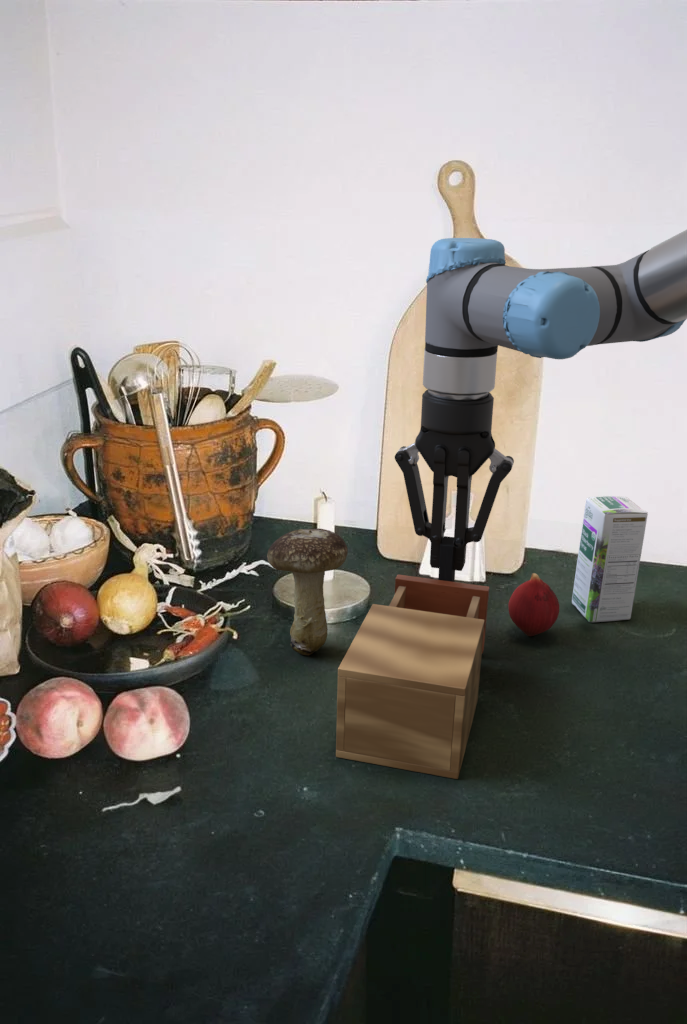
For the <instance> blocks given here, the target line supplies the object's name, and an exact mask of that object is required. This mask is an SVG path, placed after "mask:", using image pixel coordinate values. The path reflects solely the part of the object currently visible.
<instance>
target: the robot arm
mask: <svg viewBox="0 0 687 1024" xmlns="http://www.w3.org/2000/svg"><path fill="white" fill-rule="evenodd" d="M505 250H506V249H505V246H504V244H503V243H502V242H501V241H500V240H496V239H492V238H491V239H490V238H479V237H478V238H477V237H448V238H447V237H446V238H440V239H438V240H436V241H435V242H434V243H433V244H432V245H431V248H430V252H429V255H430V256H429V264H428V273H427V276H426V279H425V282H426V301H425V303H426V304H425V333H424V334H425V335H424V351H423V370H422V371H423V372H422V374H423V375H422V386H423V387H424V388H425V391H424V392H423V393H422V395H421V411H420V413H421V415H420V430H419V432H418V434H417V436H416V437H415V439H414V440H415V441H414V442H413V443H411V444H409V445H408V446H406V445H405V446H401V447H400V448H399V449H398V450H397V452H396V453H395V455H394V460H395V462H396V464H397V466H398V467H399V468H400V469H399V470H401V472H402V474H403V479H404V485H405V489H406V495H407V499H408V504H409V509H410V514H411V519H412V525H413V528H414V533H415V534H416V536H419V537H425V538H427V539H428V540H429V541H430V555H429V565H430V568H433V569H438V576H437V577H438V579H437V580H443V581H451V582H456V581H455V580H456V571H458V572H462V571H463V569H464V567H465V564H466V559H467V545H468V544H470V543H479V542H480V541H481V540H482V538H483V536H484V532H485V529H486V527H487V524H488V520H489V518H490V515H491V512H492V509H493V507H494V504H495V501H496V498H497V495H498V492H499V490H500V486H501V483H502V482H503V481H504V480H505V478H506V477H507V476H508V475H509V474H510V472H511V471H512V469H513V466H514V462H515V460H514V458H513V457H512V456H511V455H504V454H503V453H502V452H500V451H499V450H498V449H497V448H496V442H495V439H494V437H493V433H492V426H493V414H494V403H495V401H494V400H495V398H494V395H492V393H491V392H492V391H493V390H494V389H495V387H496V374H497V360H498V351H499V350H498V348H499V346H500V347H502V348H506V349H509V350H512V351H515V352H519V353H523V355H524V354H525V355H529V356H530V357H532V358H536V359H537V358H538V359H542V358H547V359H551V360H567V359H571V358H573V357H574V356H576V355H577V354H578V353H580V351H582V350H584V349H585V348H586V347H592V346H598V345H606V344H618V343H628V342H639V343H643V342H648V341H652V340H656V339H659V338H662V337H667V336H669V335H673V334H674V333H675V332H677V331H678V330H679V329H680V328H681V327H682V326H683V324H684V323H685V322H686V320H687V229H685V230H683V231H680V232H679V233H677V234H675V235H673V236H671V237H670V238H668V239H666V240H664V241H662V242H660V243H658V244H656V245H654V246H653V247H651V248H650V249H648V250H646V251H644V252H641V253H640V254H638V255H636V256H634V257H631V258H630V259H628V260H626V261H623V262H620V263H618V264H610V265H609V264H607V265H594V266H592V265H591V266H580V267H578V266H577V267H560V268H559V267H558V268H557V267H556V268H543V269H542V268H527V267H518V266H509V265H506V264H507V261H506V256H505V255H506V253H505V252H506V251H505ZM419 454H420V455H421V457H422V459H423V460H424V461H425V462H424V463H426V465H427V466H428V468H429V469H430V471H431V472H432V473H433V477H432V485H433V488H432V504H431V505H432V506H431V522H430V519H429V514H428V509H427V504H426V503H427V502H426V499H425V493H424V489H423V484H422V480H421V474H420V469H419V465H418V463H419V461H420V456H419ZM488 459H489V461H490V464H489V467H488V468H489V471H490V472H491V476H490V478H489V480H488V484H487V486H486V489H485V492H484V495H483V498H482V500H481V504H480V507H479V509H478V513H477V516H476V519H475V522H474V524H473V526H471V527H469V522H470V507H471V506H470V505H471V494H472V493H471V491H472V480H473V476H474V475H475V474H476V473H477V472H478V471H479V470H480V468H481V467H482V466H484V464H485V463H486V462H487V461H488ZM450 477H454V478H456V497H455V498H456V499H455V513H454V514H455V515H454V529H453V530H454V531H453V532H454V533H453V536H447V535H445V532H446V521H447V503H448V486H449V478H450Z"/></svg>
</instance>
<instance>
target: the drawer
mask: <svg viewBox="0 0 687 1024" xmlns="http://www.w3.org/2000/svg"><path fill="white" fill-rule="evenodd" d="M489 596H490V586H487V585H480V584H474V583H464V582H456V581H454V582H451V581H443V580H438V579H436V578H428V577H421V576H413V575H405V574H397V575H396V577H395V579H394V595H393V598H392V599H391V601H390V603H389V605H388V606H391V607H398V608H405V609H412V610H419V611H427V612H434V613H441V614H448V615H455V616H462V617H469V618H476V619H483V620H485V621H484V633H483V644H482V654H483V653H484V650H485V645H486V644H485V643H486V631H487V620H488V609H489V599H490V597H489Z"/></svg>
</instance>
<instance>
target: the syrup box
mask: <svg viewBox="0 0 687 1024" xmlns="http://www.w3.org/2000/svg"><path fill="white" fill-rule="evenodd" d="M648 515H649V513H648V511H646V510H644V509H642V508H641V507H640V506H639V505H638V504H636V503H635V502H633V501H632V500H631V499H630V498H628V497H627V496H620V495H619V496H618V495H603V496H602V495H600V496H599V495H598V496H590V497H586V499H585V506H584V512H583V518H582V525H581V532H580V539H579V545H578V546H579V547H578V554H577V559H576V560H577V561H576V567H575V576H574V582H573V589H572V596H571V604H572V605H573V606H574V607H575V608H576V609H577V610H578V612H580V614H581V615H582V616H583V617H584V618H585V619H586V620H587V622H588V623H600V622H601V623H603V622H604V623H605V622H615V621H627V620H631V618H632V612H633V606H634V601H635V594H636V589H637V583H638V576H639V569H640V563H641V558H642V552H643V546H644V541H645V540H644V539H645V534H646V527H647V522H648V521H647V520H648Z"/></svg>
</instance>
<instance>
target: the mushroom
mask: <svg viewBox="0 0 687 1024" xmlns="http://www.w3.org/2000/svg"><path fill="white" fill-rule="evenodd" d="M348 551H349V549H348V545H347V543H346V541H345V540H344V538H342V536H340V535H339V534H337V533H336V532H334V531H332V530H329V529H325V528H302V529H301V528H299V529H295V530H292V531H289V532H287V533H284V534H283V535H281V536H280V537H279V538H277V539H276V540H275V541H273V543H271V545H270V546H269V548H268V550H267V553H266V555H267V556H266V557H267V562H268V564H269V565H270V566H271V567H272V568H273V569H274V570H277V571H282V572H291V574H292V576H293V581H294V589H293V590H294V591H293V592H294V594H293V598H294V600H293V601H294V614H293V622H292V625H291V626H290V630H289V634H290V643H289V644H290V647H291V649H292V650H293V651H294V652H295V653H298V654H300V655H302V656H311V655H313V654H315V652H317V651H319V650H320V649H321V648H322V647H323V646H324V645H325V643H326V642H327V638H328V622H327V613H326V610H325V609H326V607H325V597H324V584H325V575H326V572H330V571H334V570H337V569H338V568H340V567H341V566H342V565H343V564H344V563H345V562H346V560H347V557H348V553H349V552H348Z"/></svg>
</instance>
